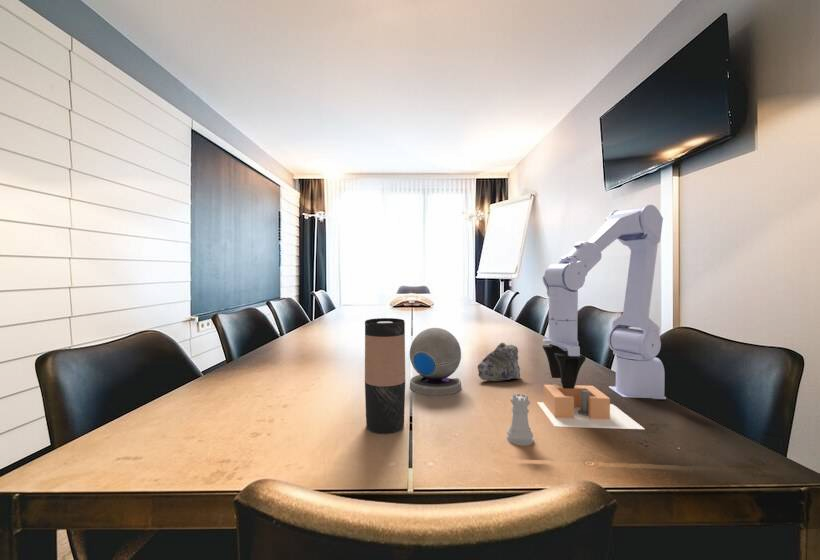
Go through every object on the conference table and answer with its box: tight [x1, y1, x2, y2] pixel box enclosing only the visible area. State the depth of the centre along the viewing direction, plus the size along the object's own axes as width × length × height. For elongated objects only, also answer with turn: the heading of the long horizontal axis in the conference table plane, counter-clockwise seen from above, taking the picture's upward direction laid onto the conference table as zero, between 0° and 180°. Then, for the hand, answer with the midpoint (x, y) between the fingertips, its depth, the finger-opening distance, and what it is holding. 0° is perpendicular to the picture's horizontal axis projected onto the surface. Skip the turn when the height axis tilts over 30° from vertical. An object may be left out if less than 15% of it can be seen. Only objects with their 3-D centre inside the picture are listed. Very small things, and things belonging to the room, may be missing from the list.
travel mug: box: [364, 317, 406, 435], centre depth 71 cm, size 8×8×20 cm
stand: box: [536, 390, 645, 430], centre depth 75 cm, size 16×13×5 cm
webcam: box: [409, 327, 462, 396], centre depth 95 cm, size 13×13×15 cm
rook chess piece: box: [506, 393, 534, 446], centre depth 64 cm, size 4×4×8 cm
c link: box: [542, 384, 611, 419], centre depth 78 cm, size 8×10×4 cm
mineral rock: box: [477, 342, 521, 382], centre depth 102 cm, size 13×11×10 cm
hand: (562, 382), depth 81 cm, fingers open, 7 cm apart
